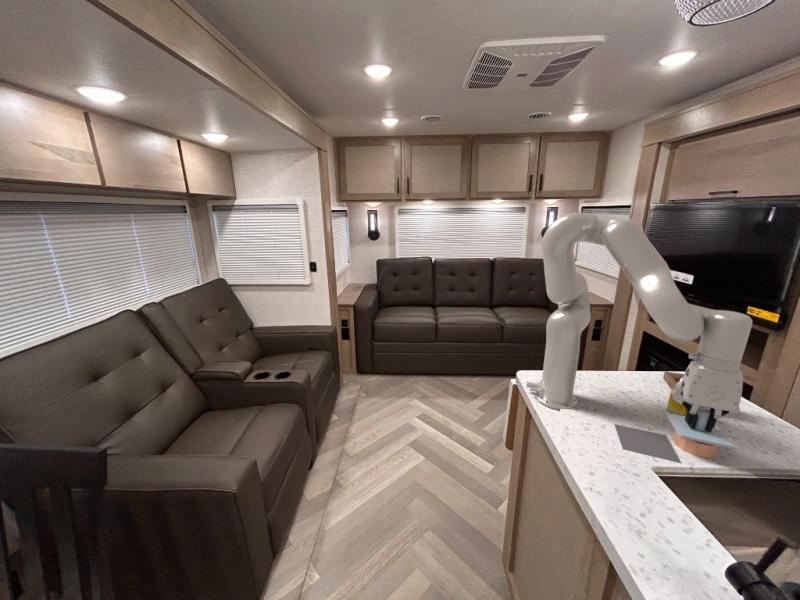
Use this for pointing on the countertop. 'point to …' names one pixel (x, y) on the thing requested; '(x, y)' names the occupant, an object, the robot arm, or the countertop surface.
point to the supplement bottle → (676, 404)
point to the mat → (646, 443)
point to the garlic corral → (672, 378)
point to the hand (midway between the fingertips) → (698, 426)
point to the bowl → (695, 447)
